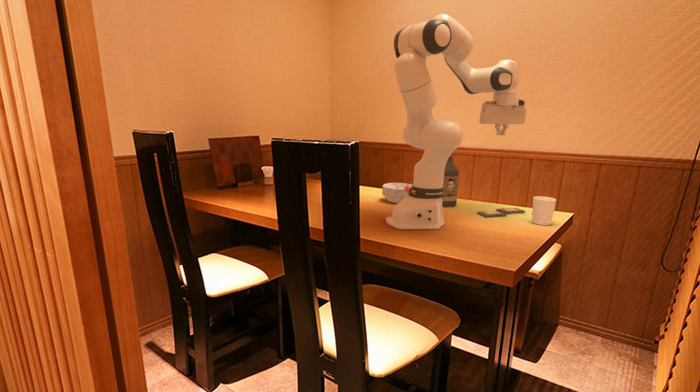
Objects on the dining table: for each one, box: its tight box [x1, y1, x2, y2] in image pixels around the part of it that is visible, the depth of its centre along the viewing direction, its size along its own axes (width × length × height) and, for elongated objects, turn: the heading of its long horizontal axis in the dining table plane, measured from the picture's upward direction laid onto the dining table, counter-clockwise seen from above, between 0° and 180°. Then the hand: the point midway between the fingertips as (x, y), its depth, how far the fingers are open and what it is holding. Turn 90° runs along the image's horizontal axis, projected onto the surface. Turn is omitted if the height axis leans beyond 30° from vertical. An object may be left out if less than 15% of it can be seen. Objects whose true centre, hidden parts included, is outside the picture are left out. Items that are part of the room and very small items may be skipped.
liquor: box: [442, 151, 460, 208], centre depth 170 cm, size 9×9×30 cm
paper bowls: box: [382, 182, 413, 204], centre depth 177 cm, size 15×15×8 cm
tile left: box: [476, 210, 508, 219], centre depth 156 cm, size 10×6×1 cm, turn 106°
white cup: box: [531, 195, 557, 226], centre depth 145 cm, size 8×8×10 cm
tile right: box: [495, 207, 526, 215], centre depth 162 cm, size 10×6×1 cm, turn 106°
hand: (500, 135), depth 156 cm, fingers closed
